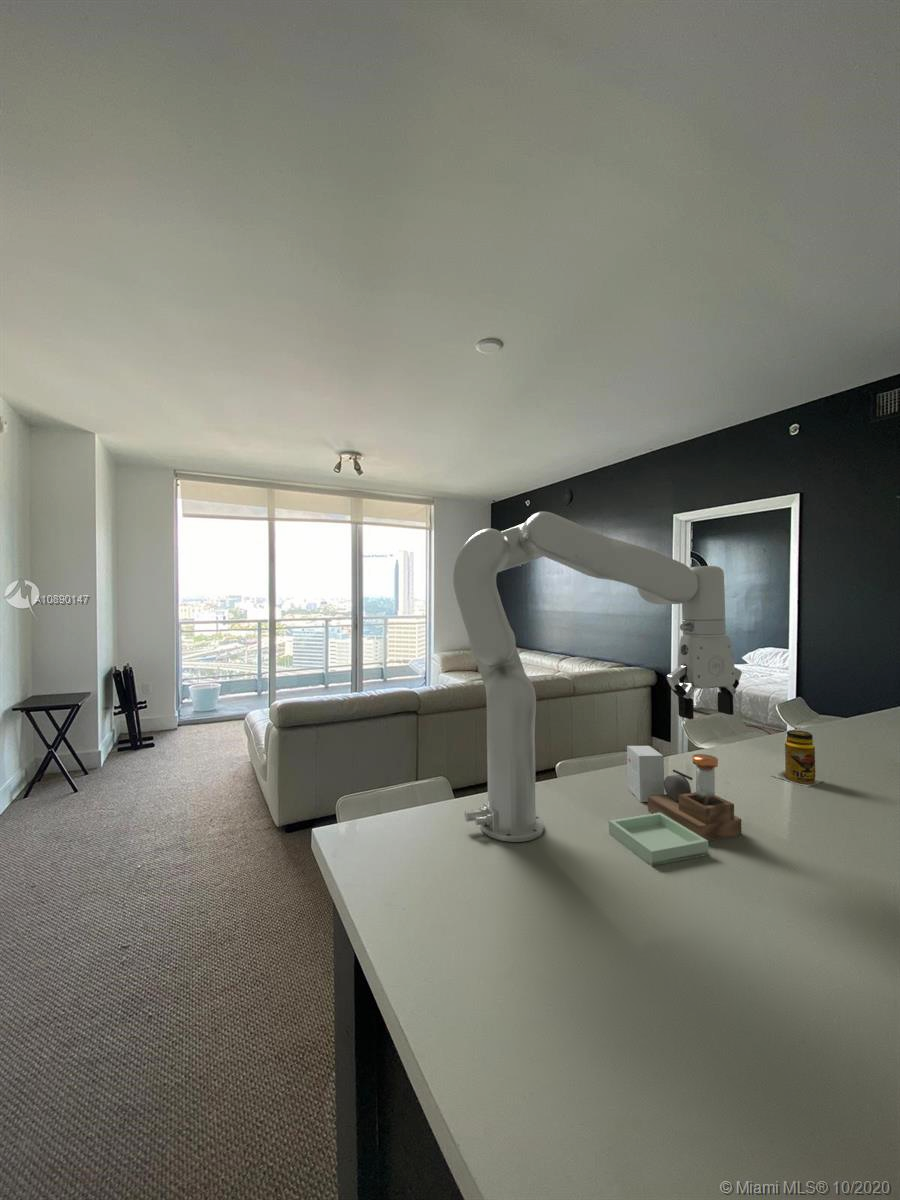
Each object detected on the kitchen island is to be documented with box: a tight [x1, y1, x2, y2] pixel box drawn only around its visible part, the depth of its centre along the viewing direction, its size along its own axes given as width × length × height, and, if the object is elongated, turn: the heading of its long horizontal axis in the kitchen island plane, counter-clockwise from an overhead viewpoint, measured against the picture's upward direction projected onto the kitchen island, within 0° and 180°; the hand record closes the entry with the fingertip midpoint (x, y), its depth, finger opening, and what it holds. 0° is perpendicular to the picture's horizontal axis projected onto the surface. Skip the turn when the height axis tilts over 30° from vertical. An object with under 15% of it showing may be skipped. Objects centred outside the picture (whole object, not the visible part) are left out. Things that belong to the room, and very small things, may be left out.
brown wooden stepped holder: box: [647, 769, 743, 841], centre depth 96 cm, size 10×14×8 cm
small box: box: [626, 745, 665, 803], centre depth 109 cm, size 8×6×10 cm
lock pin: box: [692, 753, 719, 806], centre depth 93 cm, size 4×4×11 cm
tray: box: [608, 812, 709, 867], centre depth 87 cm, size 12×12×2 cm
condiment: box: [770, 729, 823, 788], centre depth 119 cm, size 7×8×12 cm
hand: (706, 715), depth 93 cm, fingers open, 9 cm apart
